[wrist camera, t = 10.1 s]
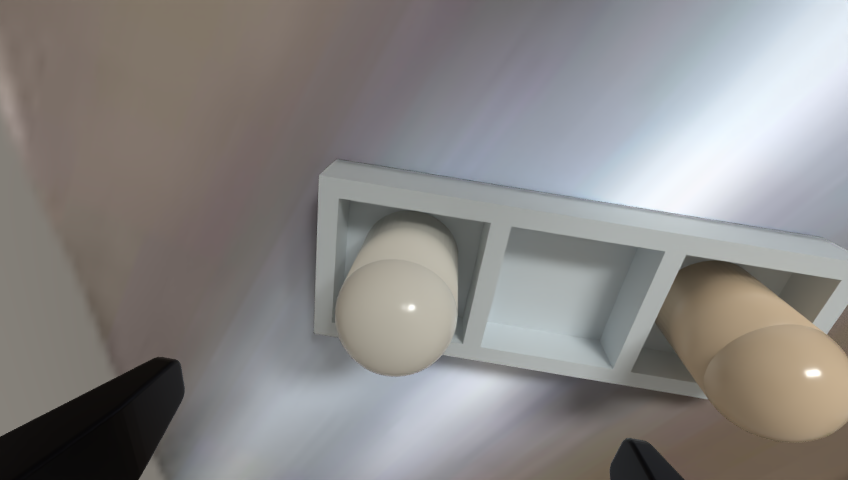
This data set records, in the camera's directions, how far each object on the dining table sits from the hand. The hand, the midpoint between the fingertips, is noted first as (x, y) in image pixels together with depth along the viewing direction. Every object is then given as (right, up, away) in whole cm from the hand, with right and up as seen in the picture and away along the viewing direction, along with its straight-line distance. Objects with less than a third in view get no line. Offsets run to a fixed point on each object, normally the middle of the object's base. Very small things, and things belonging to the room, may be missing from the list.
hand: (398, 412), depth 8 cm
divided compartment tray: (+7, +2, +11) cm, 13 cm away
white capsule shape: (0, +3, +11) cm, 11 cm away
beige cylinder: (+13, +1, +11) cm, 17 cm away
